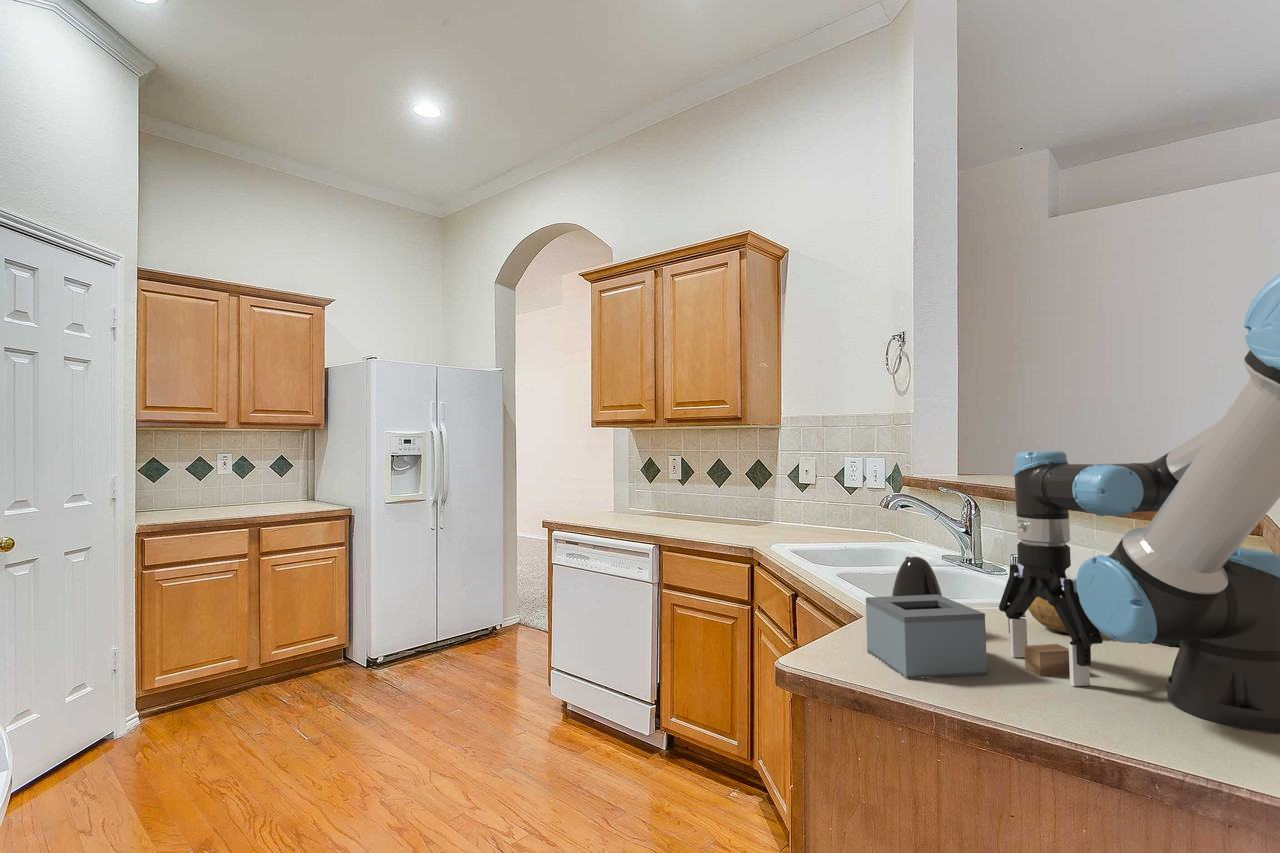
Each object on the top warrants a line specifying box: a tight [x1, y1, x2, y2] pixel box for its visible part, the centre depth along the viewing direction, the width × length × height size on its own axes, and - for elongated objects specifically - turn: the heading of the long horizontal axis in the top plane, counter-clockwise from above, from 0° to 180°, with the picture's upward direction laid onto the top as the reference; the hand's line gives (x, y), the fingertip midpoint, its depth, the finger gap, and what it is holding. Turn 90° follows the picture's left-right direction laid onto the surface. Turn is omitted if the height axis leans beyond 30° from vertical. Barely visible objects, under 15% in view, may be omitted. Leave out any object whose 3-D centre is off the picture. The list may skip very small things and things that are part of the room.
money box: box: [865, 594, 988, 679], centre depth 111 cm, size 14×14×10 cm
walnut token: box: [1024, 643, 1070, 677], centre depth 105 cm, size 4×6×4 cm, turn 96°
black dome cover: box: [891, 556, 943, 597], centre depth 129 cm, size 10×10×15 cm
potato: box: [1027, 596, 1069, 634], centre depth 127 cm, size 10×14×8 cm
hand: (1047, 670), depth 105 cm, fingers open, 13 cm apart
